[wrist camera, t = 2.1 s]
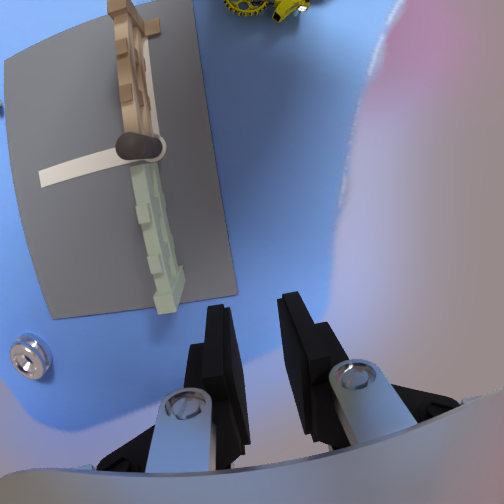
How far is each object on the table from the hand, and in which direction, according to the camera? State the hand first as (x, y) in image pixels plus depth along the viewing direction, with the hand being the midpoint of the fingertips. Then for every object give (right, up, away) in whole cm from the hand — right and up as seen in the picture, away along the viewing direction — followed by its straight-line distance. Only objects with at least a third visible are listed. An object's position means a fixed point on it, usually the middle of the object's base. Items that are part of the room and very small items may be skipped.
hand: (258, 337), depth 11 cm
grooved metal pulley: (-26, -9, +19) cm, 33 cm away
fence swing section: (-7, +5, +15) cm, 18 cm away
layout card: (-13, +11, +14) cm, 22 cm away
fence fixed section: (-9, +17, +12) cm, 23 cm away
